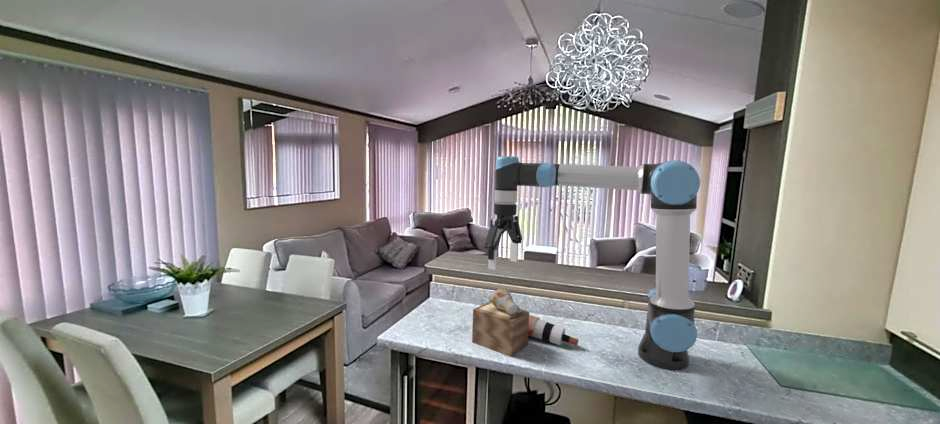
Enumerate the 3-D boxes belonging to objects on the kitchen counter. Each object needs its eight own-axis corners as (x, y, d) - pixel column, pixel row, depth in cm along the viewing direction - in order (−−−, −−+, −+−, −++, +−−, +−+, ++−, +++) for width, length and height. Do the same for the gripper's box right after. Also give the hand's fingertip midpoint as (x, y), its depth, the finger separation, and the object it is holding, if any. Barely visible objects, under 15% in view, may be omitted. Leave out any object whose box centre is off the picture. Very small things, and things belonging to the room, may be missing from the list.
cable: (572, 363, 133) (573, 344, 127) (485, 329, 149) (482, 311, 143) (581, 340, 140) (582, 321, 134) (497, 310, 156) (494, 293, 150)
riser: (527, 344, 135) (529, 310, 134) (511, 356, 127) (512, 320, 125) (489, 331, 145) (490, 299, 143) (472, 342, 136) (473, 307, 135)
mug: (508, 319, 126) (496, 290, 128) (496, 321, 135) (485, 294, 136) (526, 310, 129) (514, 282, 131) (514, 313, 138) (503, 286, 139)
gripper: (515, 199, 142) (512, 256, 144) (474, 204, 122) (472, 270, 125) (533, 201, 137) (530, 260, 140) (494, 206, 117) (491, 275, 120)
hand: (503, 265), depth 132 cm, fingers open, 13 cm apart
